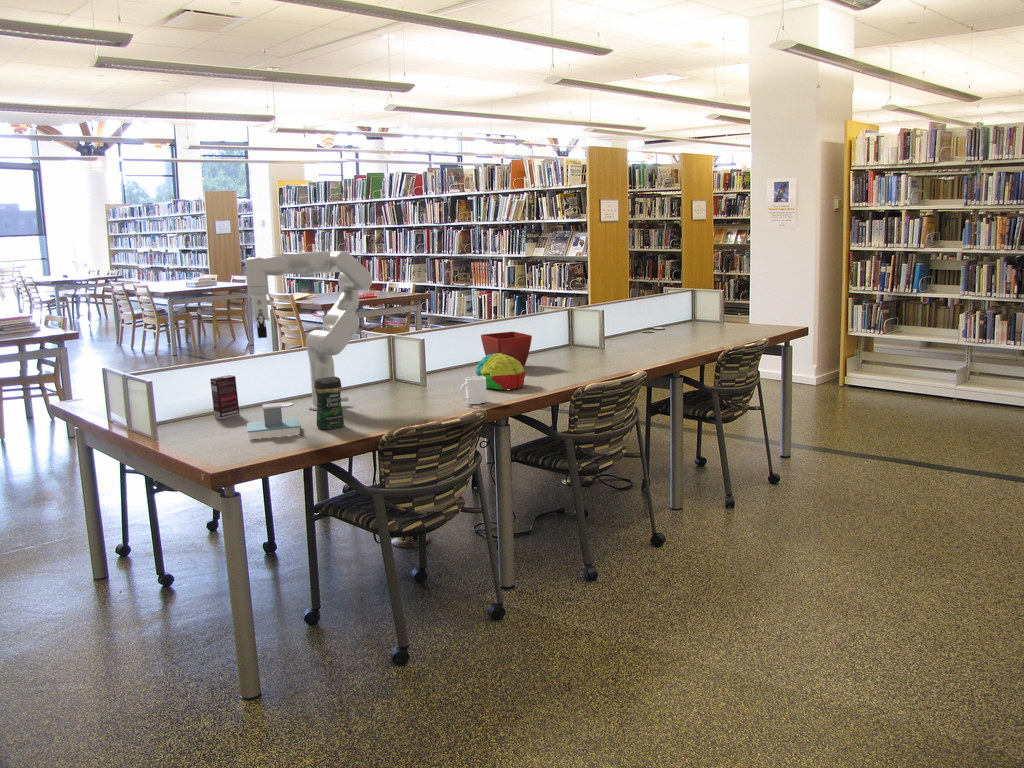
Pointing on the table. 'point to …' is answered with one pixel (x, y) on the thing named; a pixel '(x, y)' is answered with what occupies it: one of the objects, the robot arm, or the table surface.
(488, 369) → the brain model
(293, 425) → the book
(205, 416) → the table surface
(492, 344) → the plant pot
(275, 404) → the card box
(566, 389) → the table surface
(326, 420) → the coffee jar
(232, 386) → the supplement box
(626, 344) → the table surface
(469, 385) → the mug
